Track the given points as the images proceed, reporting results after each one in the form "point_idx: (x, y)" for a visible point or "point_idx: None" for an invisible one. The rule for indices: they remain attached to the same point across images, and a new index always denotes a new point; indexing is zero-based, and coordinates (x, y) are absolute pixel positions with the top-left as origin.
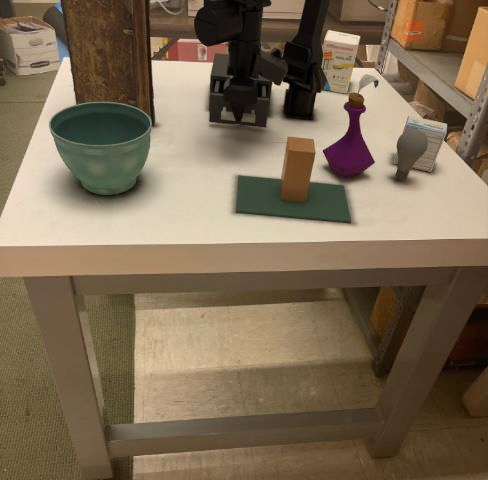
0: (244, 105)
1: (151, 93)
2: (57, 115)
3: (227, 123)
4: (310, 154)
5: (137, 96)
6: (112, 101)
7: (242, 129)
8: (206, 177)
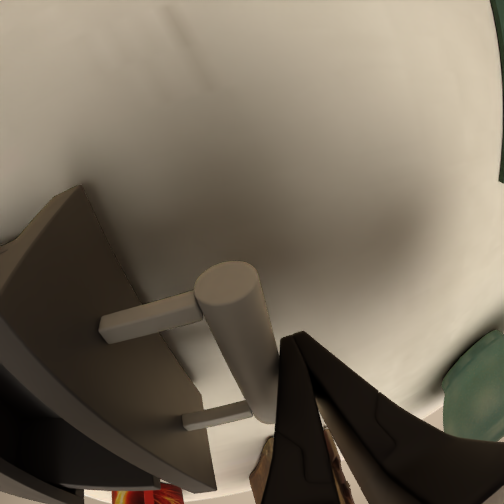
0: (398, 409)
1: None
2: None
3: (172, 355)
4: None
5: None
6: None
7: (138, 288)
8: (491, 253)
